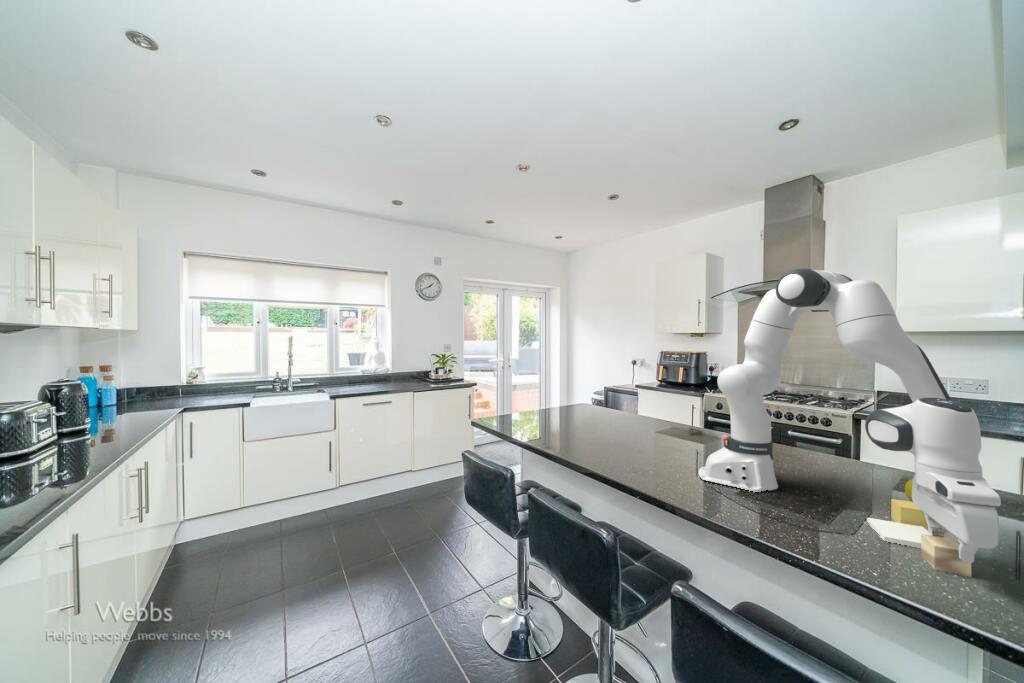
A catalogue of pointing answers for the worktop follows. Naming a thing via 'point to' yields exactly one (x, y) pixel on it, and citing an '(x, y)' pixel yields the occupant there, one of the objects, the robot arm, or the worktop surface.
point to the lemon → (909, 490)
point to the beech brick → (943, 555)
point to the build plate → (898, 532)
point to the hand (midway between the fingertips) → (949, 547)
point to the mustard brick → (907, 513)
